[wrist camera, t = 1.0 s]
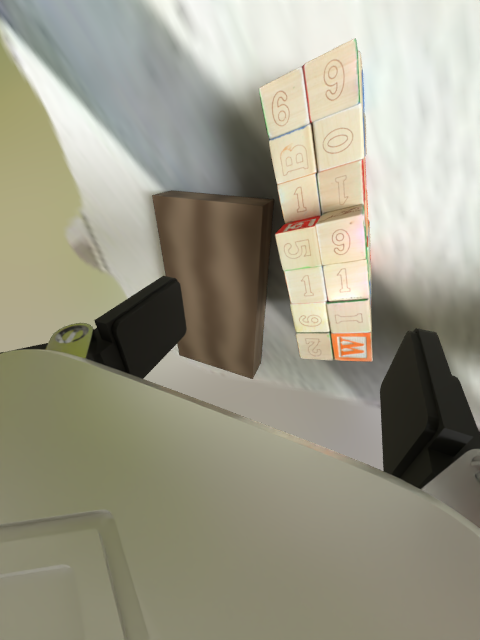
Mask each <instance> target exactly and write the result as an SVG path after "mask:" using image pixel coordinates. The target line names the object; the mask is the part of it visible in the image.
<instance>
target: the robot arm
mask: <svg viewBox="0 0 480 640" xmlns="http://www.w3.org/2000/svg"><path fill="white" fill-rule="evenodd" d="M95 323H96V326H97V328H96V329H93V327H92V326H91V325H89V324H86V323H76V324H71V325H68V326H65V327H63V328H61V329H59V330H58V331H57V332H55V333H54V334H53V335H52V337H51V339H50V341H49V343H46V344H42V345H36V346H32V347H27V348H22V349H17V350H13V351H8V352H1V353H0V640H480V434H479V431H478V428H477V426H476V423H475V420H474V418H473V415H472V413H471V410H470V407H469V405H468V402H467V399H466V397H465V394H464V391H463V389H462V386H461V384H460V381H459V380H458V378H457V377H455V376H452V375H451V372H450V369H449V366H448V363H447V360H446V358H445V355H444V352H443V349H442V346H441V344H440V341H439V338H438V335H437V333H435V332H431V331H426V330H421V329H415V330H414V331H413V332H411V331H408V332H407V333H406V335H405V337H404V339H403V341H402V343H401V345H400V347H399V349H398V351H397V353H396V355H395V358H394V360H393V362H392V364H391V366H390V368H389V370H388V372H387V374H386V376H385V378H384V380H383V382H382V385H381V389H380V400H381V422H382V445H383V467H384V471H381V470H379V469H377V468H374V467H372V466H370V465H368V464H365V463H363V462H360V461H358V460H355V459H352V458H350V457H348V456H345V455H342V454H340V453H337V452H335V451H332V450H330V449H327V448H325V447H322V446H320V445H317V444H315V443H312V442H310V441H307V440H304V439H301V438H299V437H296V436H294V435H291V434H288V433H286V432H283V431H281V430H278V429H275V428H272V427H270V426H267V425H265V424H262V423H259V422H257V421H254V420H252V419H249V418H246V417H244V416H241V415H238V414H236V413H233V412H230V411H228V410H225V409H222V408H220V407H217V406H214V405H212V404H209V403H206V402H204V401H201V400H198V399H196V398H193V397H190V396H187V395H185V394H182V393H179V392H177V391H174V390H171V389H169V388H166V387H163V386H160V385H157V384H155V383H152V382H149V381H147V380H144V379H143V378H144V377H145V376H146V375H147V374H148V373H149V372H150V371H151V370H152V369H153V368H154V367H155V366H156V365H157V364H158V363H159V362H160V360H161V359H163V357H164V356H165V355H166V354H167V353H168V352H169V351H170V350H171V349H172V348H173V347H174V346H175V345H176V344H177V343H178V342H179V341H180V340H181V339H182V338H183V337H184V335H185V334H186V330H187V327H186V320H185V313H184V306H183V299H182V292H181V285H180V283H179V282H178V281H177V279H176V278H172V277H168V276H162V277H161V278H159V279H158V280H156V281H155V282H153V283H152V284H150V285H148V286H147V287H145V288H144V289H142V290H141V291H139V292H138V293H136V294H135V295H133V296H131V297H130V298H128V299H127V300H125V301H124V302H122V303H121V304H119V305H118V306H116V307H115V308H113V309H111V310H110V311H108V312H107V313H105V314H104V315H102V316H101V317H99V318H97V319H96V320H95Z"/></svg>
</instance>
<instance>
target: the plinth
mask: <svg viewBox="0 0 480 640" xmlns="http://www.w3.org/2000/svg"><path fill="white" fill-rule="evenodd" d="M152 197H153V203H154V209H155V215H156V221H157V227H158V232H159V238H160V244H161V250H162V256H163V262H164V267H165V273H166V276H168V277H172V278H176V279H177V281H178V282H179V283H180V285H181V292H182V299H183V306H184V313H185V320H186V327H187V330H186V334H185V335H184V337H183V338H182V339H181V340H180V341H179V342H178V349H179V355H181V356H184V357H187V358H190V359H193V360H196V361H199V362H202V363H205V364H208V365H211V366H214V367H217V368H220V369H224V370H227V371H230V372H233V373H236V374H239V375H242V376H245V377H248V378H251V379H253V377H254V375H255V373H256V371H257V369H258V367H259V365H260V364H261V354H262V342H263V329H264V317H265V305H266V292H267V280H268V267H269V255H270V242H271V230H272V217H273V205H274V199H262V198H251V197H239V196H228V195H216V194H205V193H193V192H182V191H168V192H164V193H160V194H156V195H152Z"/></svg>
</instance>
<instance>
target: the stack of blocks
mask: <svg viewBox="0 0 480 640" xmlns="http://www.w3.org/2000/svg"><path fill="white" fill-rule="evenodd" d="M259 94H260V98H261V103H262V109H263V113H264V118H265V124H266V129H267V133H268V136H269V147H270V152H271V157H272V162H273V167H274V172H275V177H276V182H277V188H278V194H279V199H280V204H281V208H282V213H283V218H284V221H285V223H286V224H284V225H283V226H282V227H281V228H280V229H279V230H278V231H277V232H276V234H275V238H276V242H277V247H278V251H279V255H280V260H281V264H282V269H283V271H284V274H285V279H286V284H287V288H288V293H289V297H290V301H291V303H290V307H291V312H292V317H293V321H294V326H295V330H296V338H297V343H298V348H299V353H300V357H301V358H302V359H319V360H333V359H335V360H340V361H373V357H372V319H371V308H372V304H371V258H370V222H369V220H368V203H367V189H366V169H365V156H366V154H367V150H366V119H365V113H364V87H363V70H362V61H361V54H360V51H358V49H357V42H356V38H355V39H353V40H351V41H349V42H347V43H345V44H343V45H341V46H339V47H337V48H335V49H333V50H331V51H329V52H327V53H325V54H323V55H321V56H319V57H317V58H315V59H313V60H311V61H309V62H307V63H305V64H304V65H303V66H302V67H300V68H298V69H295V70H293V71H291V72H289V73H287V74H285V75H283V76H281V77H280V78H278V79H276V80H274V81H272V82H270V83H268V84H266V85H264V86H262V87H260V88H259Z"/></svg>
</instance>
